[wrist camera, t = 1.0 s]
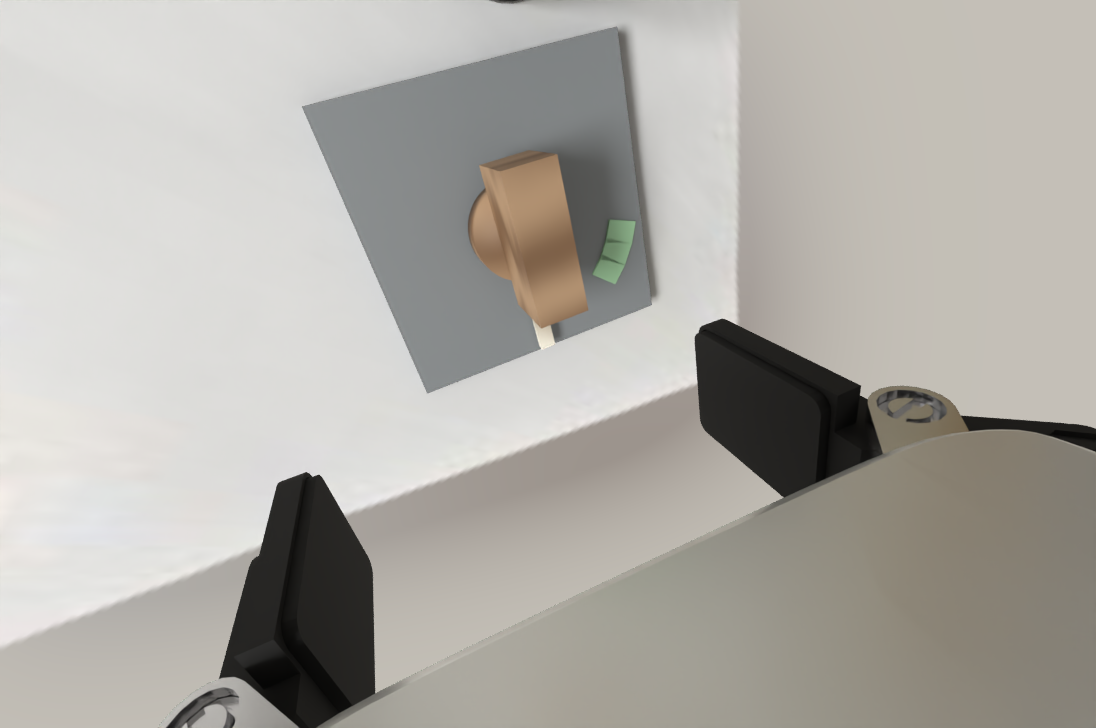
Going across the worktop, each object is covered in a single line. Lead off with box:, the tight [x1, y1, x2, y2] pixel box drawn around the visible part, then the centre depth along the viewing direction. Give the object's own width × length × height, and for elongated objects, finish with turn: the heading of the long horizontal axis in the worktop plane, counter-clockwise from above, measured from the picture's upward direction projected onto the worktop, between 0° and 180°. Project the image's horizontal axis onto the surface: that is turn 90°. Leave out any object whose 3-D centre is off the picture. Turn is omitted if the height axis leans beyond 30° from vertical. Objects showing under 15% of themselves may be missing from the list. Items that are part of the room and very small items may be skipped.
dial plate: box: [302, 27, 652, 393], centre depth 36 cm, size 21×21×2 cm
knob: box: [468, 150, 588, 349], centre depth 34 cm, size 15×7×7 cm, turn 14°
